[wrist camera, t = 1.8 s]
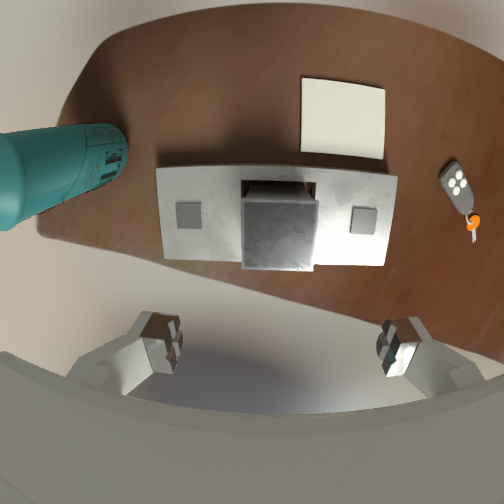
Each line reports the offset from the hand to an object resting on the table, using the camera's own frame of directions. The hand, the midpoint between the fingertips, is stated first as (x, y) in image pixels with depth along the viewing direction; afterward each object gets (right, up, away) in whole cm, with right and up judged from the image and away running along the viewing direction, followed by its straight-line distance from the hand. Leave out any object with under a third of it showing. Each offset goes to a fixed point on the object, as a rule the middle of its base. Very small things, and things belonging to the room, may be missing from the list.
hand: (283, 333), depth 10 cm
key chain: (+24, +8, +15) cm, 29 cm away
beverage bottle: (-16, +14, +14) cm, 25 cm away
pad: (+7, +15, +12) cm, 21 cm away
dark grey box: (+1, +7, +16) cm, 17 cm away
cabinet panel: (+1, +7, +16) cm, 17 cm away
